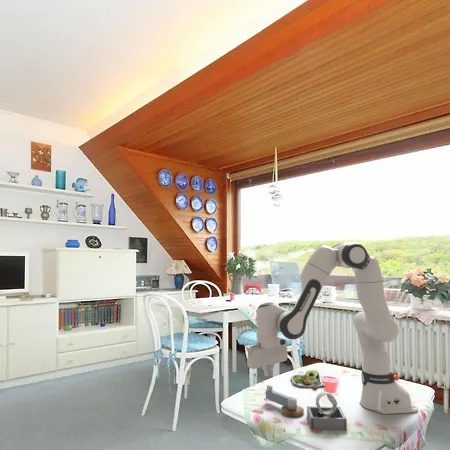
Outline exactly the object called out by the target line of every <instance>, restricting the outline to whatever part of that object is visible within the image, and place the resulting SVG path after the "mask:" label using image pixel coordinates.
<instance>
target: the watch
mask: <svg viewBox="0 0 450 450" xmlns="http://www.w3.org/2000/svg"><path fill="white" fill-rule="evenodd" d="M325 395H326V396H327V397H326V398H327V399H328V401H329V402H330V403H331V405H332V406H331V407H332V409H331V410H330V411H329V410H328V411H323V410H322V409H321V407H322V406H321V405H320V399H322V397H323V396H325ZM315 405H316V406H315V407H317V408H318V409H319V411H318V417H328V418H335V416H334V415H333V414H332V413H334V411H335V410H336V408H337V407H338V406H337V405H338V401H337V399H336V398H335V396H334V395H333V394H332V393H331V392H327V391H322V392H320V393H318V394H317V396H316V398H315Z"/></svg>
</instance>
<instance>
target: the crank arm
mask: <svg viewBox="0 0 450 450" xmlns="http://www.w3.org/2000/svg"><path fill="white" fill-rule="evenodd" d="M265 399H266V400H268V401H271V402H273V403H276V404H278V405H280V406H282V407H283V406H285V407H287V408H288V409H290V410H296V409H297V406H298V403H297V402H298V399H297V398H296V397H293V396H288V395H286V394H285V393H284V394H283V393H281V392H278V391H275V390H273V385H272V384H267V385H266V389H265Z"/></svg>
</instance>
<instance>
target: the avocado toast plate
mask: <svg viewBox="0 0 450 450" xmlns="http://www.w3.org/2000/svg"><path fill="white" fill-rule="evenodd" d="M320 377H322V375H320V373H319V372H318V370H313V369H312V370H308V371H306V372H305V373H304V374H294V375H292V376H291V377H290V381H291V382H292V384H293V385H295V386H296V387H298V388H304V389H317V388H321V387H322V386H321V382H320Z"/></svg>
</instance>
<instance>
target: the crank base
mask: <svg viewBox="0 0 450 450" xmlns="http://www.w3.org/2000/svg"><path fill="white" fill-rule="evenodd" d="M280 409H281V412H282V413H281V414H282V415H283V416H284V415H285V417H287V418H300V417H302V416H303V417H304V413H305V412H304V411H305V410H304V408H303V407H302V406H300V405H297V409H296V410H290V409H288V408H287V407H285V406H282V407H281V408H280Z"/></svg>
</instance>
